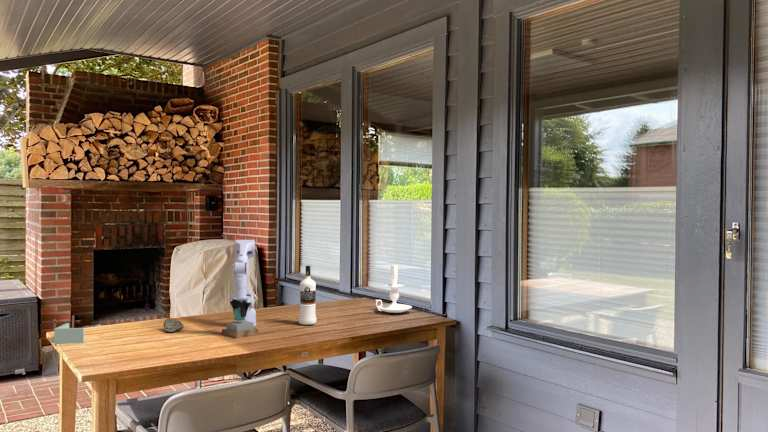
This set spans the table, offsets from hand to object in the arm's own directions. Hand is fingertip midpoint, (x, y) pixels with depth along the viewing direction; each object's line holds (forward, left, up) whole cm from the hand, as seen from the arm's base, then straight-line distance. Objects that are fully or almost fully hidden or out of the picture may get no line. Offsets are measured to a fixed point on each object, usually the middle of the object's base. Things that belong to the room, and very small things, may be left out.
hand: (240, 316), depth 273 cm
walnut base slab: (0, 0, -9) cm, 9 cm away
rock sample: (+22, -26, -9) cm, 35 cm away
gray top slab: (0, 0, -6) cm, 6 cm away
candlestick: (-93, +16, -9) cm, 95 cm away
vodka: (-39, +4, -9) cm, 40 cm away
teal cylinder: (0, 0, -2) cm, 2 cm away
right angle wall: (+59, -39, -9) cm, 71 cm away
